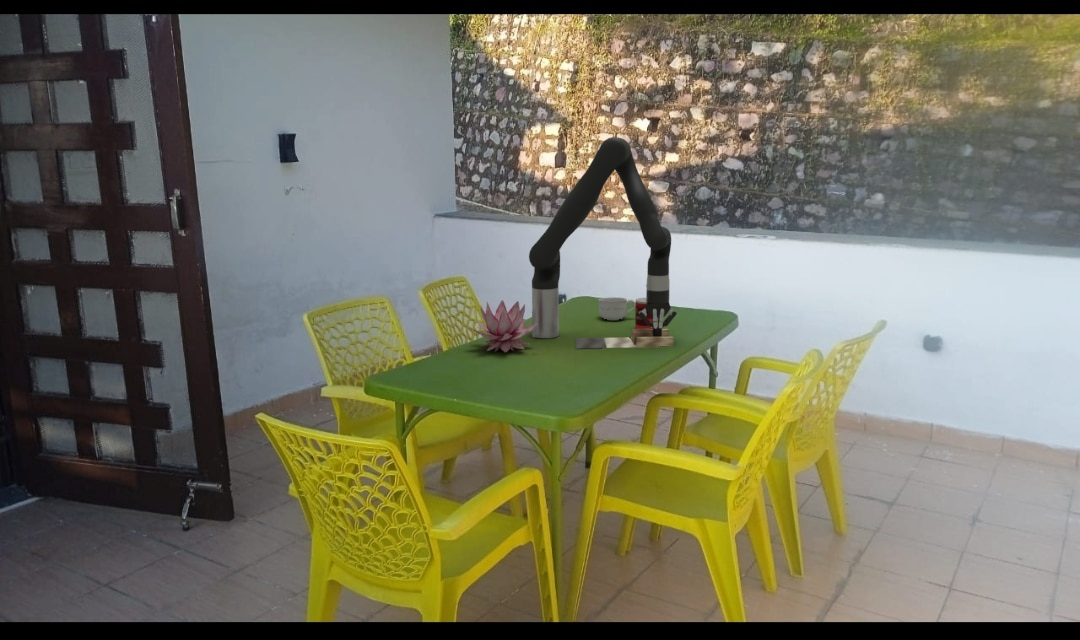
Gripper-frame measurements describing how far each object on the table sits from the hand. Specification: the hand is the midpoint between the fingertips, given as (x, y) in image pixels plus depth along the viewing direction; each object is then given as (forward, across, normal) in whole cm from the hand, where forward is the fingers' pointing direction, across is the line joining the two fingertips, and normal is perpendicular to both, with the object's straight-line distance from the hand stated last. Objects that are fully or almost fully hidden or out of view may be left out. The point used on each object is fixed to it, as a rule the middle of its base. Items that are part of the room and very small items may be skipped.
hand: (657, 338), depth 272 cm
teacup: (+2, -10, +36) cm, 37 cm away
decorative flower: (+1, -51, -5) cm, 52 cm away
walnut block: (+1, -5, 0) cm, 5 cm away
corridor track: (+2, -12, 0) cm, 12 cm away
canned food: (+2, -1, +19) cm, 19 cm away
